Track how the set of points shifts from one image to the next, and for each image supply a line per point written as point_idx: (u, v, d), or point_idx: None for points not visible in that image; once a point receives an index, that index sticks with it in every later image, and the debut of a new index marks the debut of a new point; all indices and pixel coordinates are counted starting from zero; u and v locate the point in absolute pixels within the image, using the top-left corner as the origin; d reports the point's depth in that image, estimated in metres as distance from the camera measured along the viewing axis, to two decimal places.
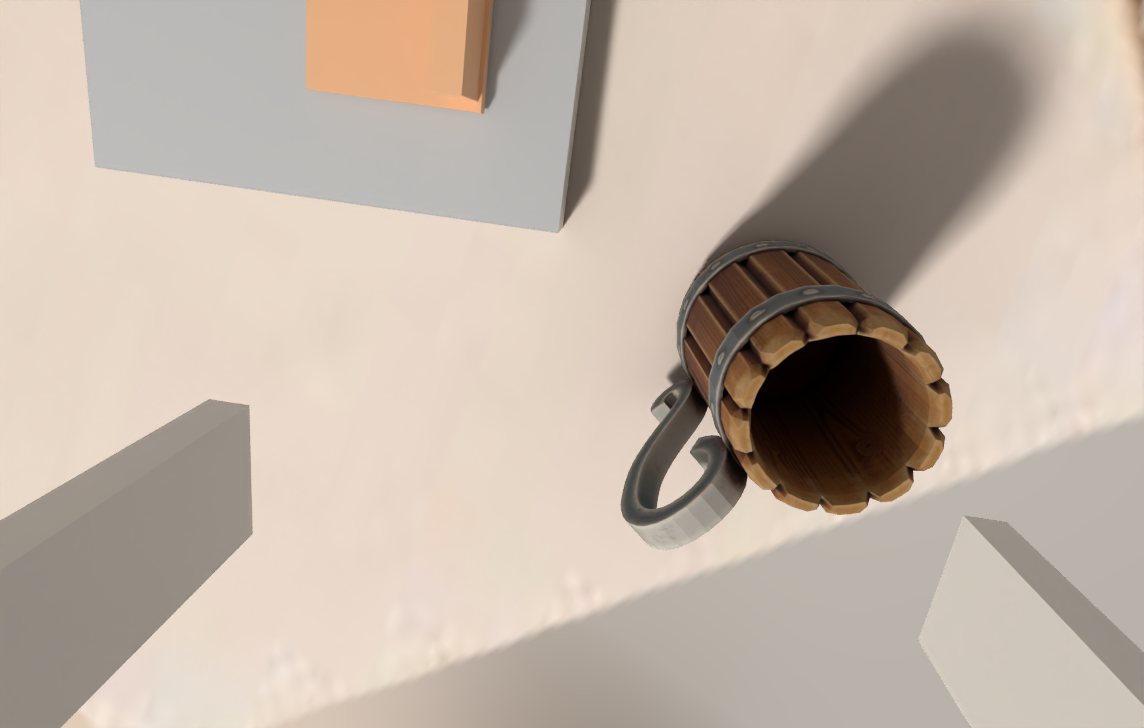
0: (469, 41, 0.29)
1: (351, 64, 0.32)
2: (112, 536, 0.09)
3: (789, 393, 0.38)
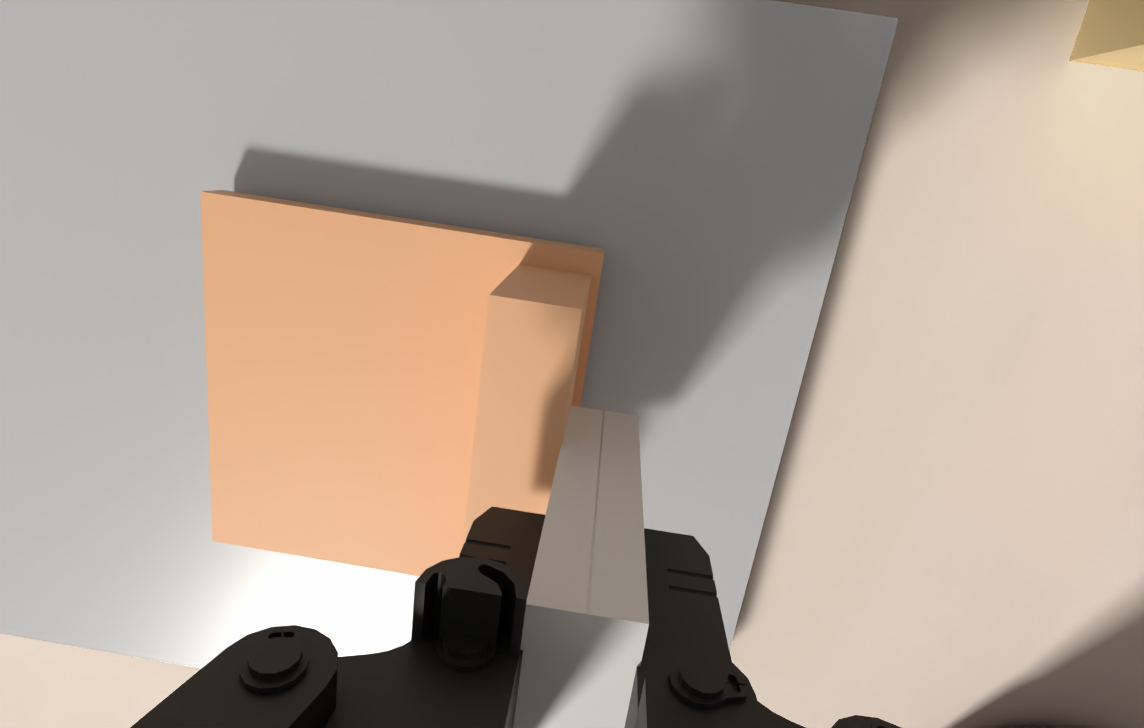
0: None
1: (299, 508, 0.17)
2: None
3: None
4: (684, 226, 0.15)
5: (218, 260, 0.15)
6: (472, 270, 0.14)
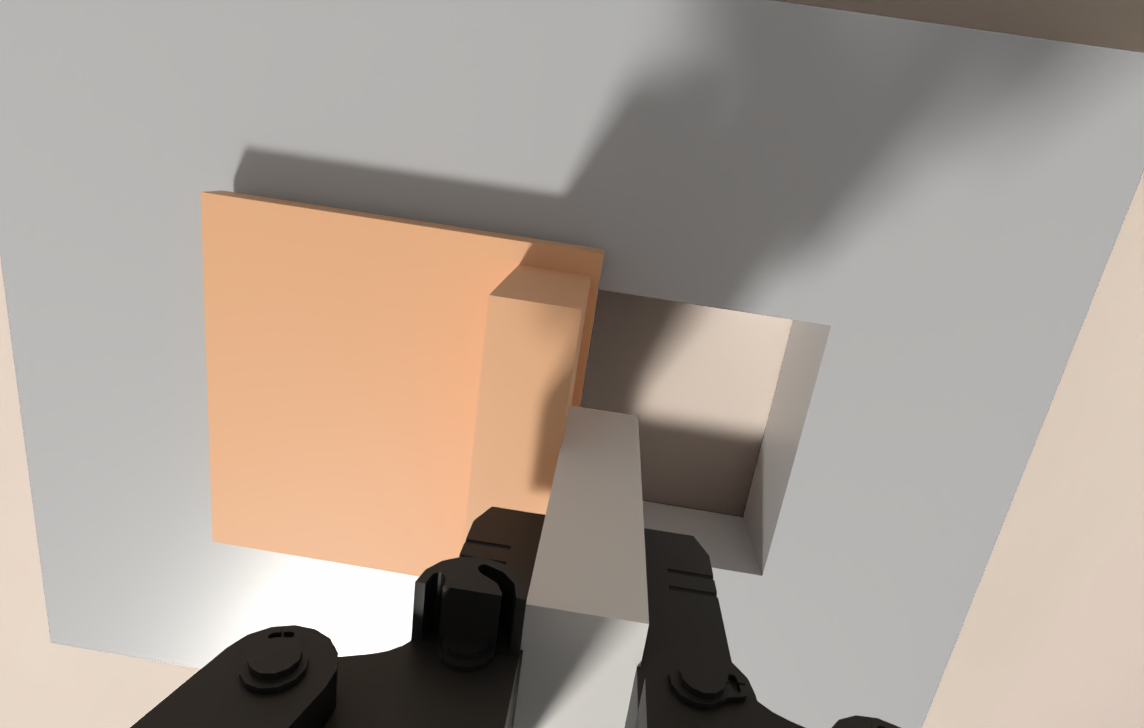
0: None
1: (299, 509, 0.17)
2: None
3: None
4: (939, 265, 0.15)
5: (218, 260, 0.15)
6: (472, 270, 0.14)
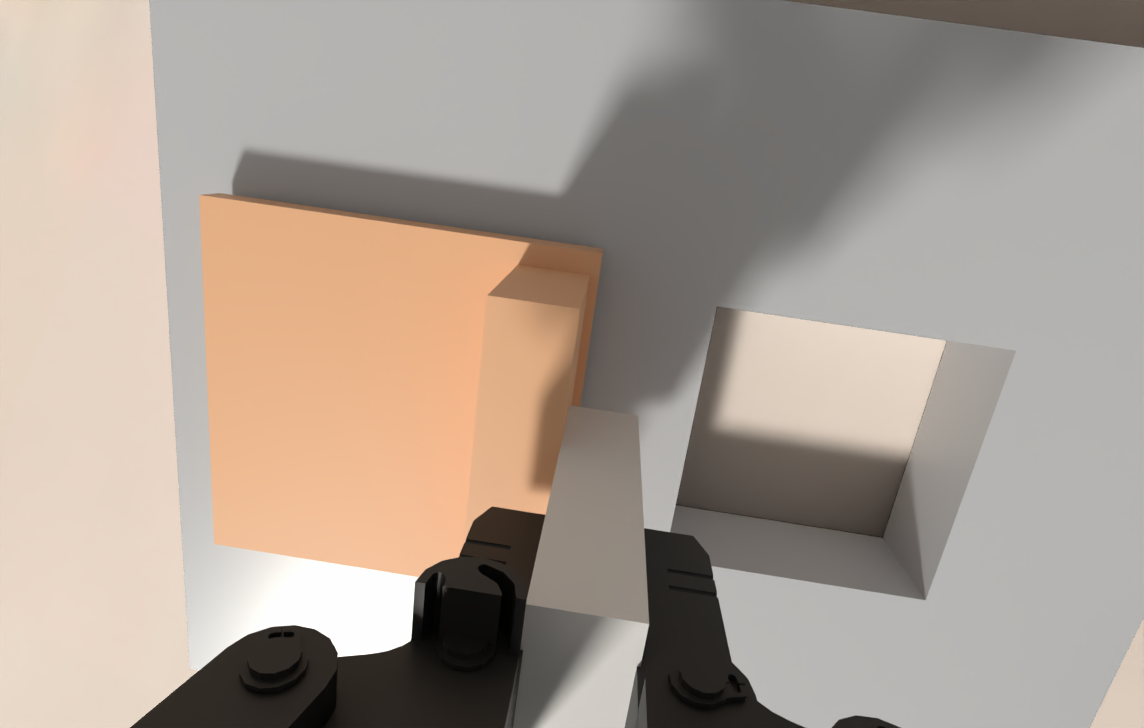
0: None
1: (300, 510, 0.17)
2: None
3: None
4: (1132, 290, 0.15)
5: (217, 263, 0.15)
6: (471, 271, 0.14)
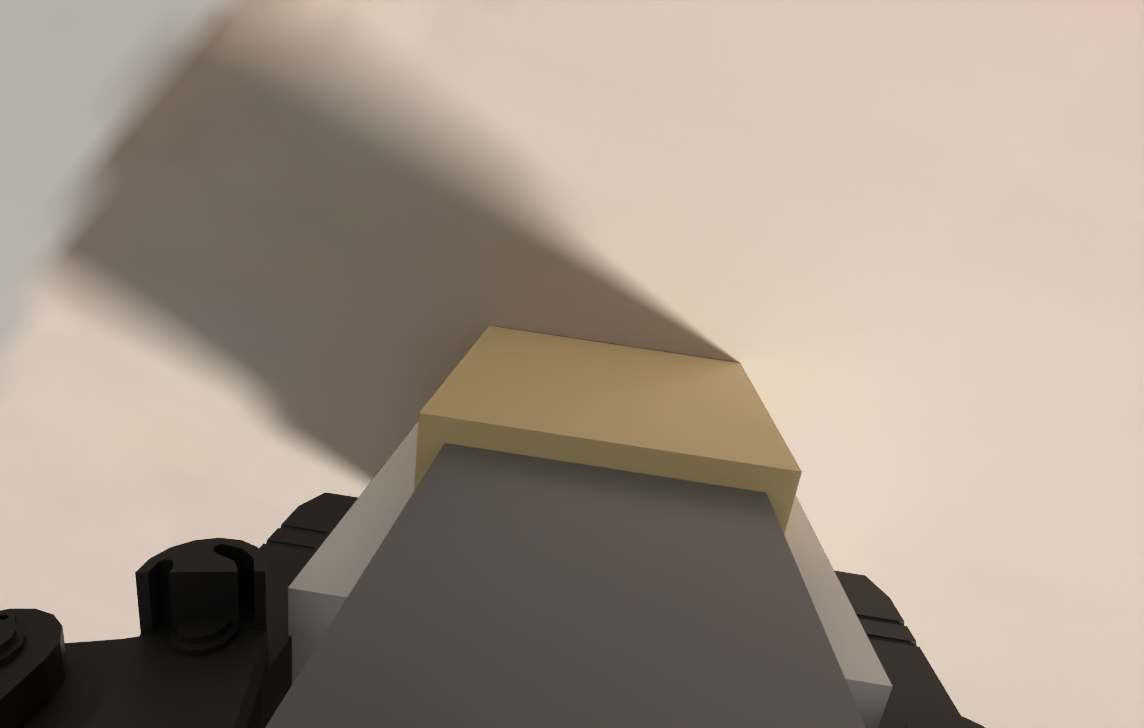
0: None
1: None
2: None
3: None
4: None
5: None
6: None
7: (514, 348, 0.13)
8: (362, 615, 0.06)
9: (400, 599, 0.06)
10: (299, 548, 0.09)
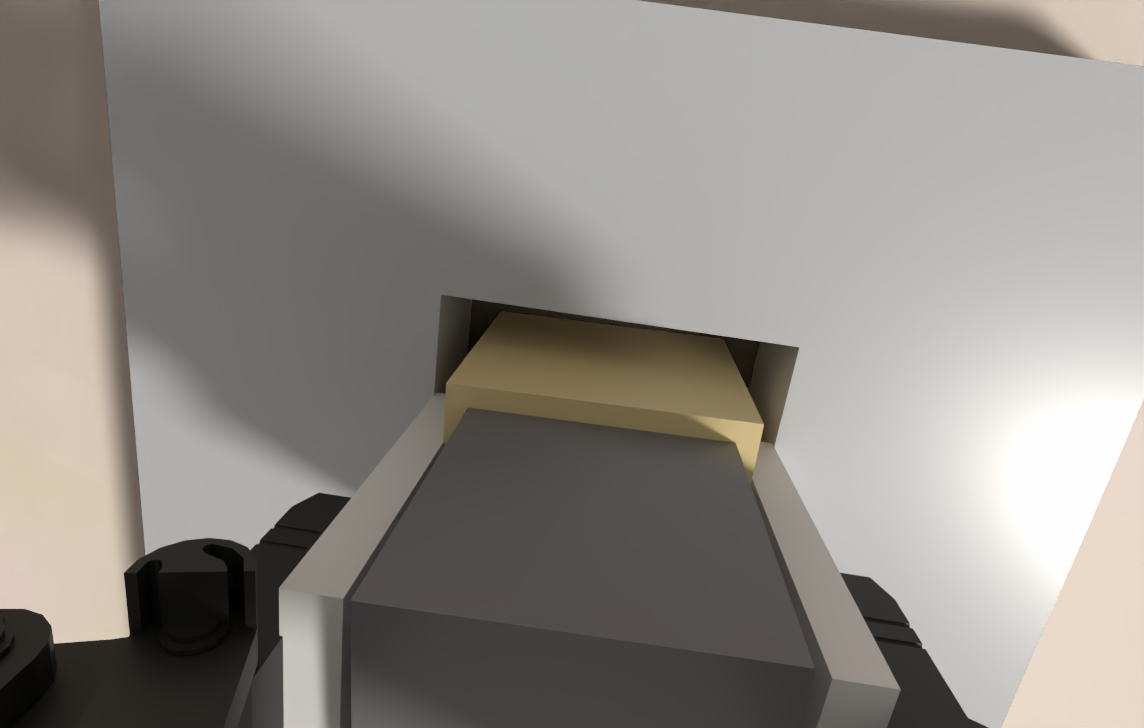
0: None
1: None
2: None
3: None
4: (357, 177, 0.12)
5: None
6: None
7: (523, 330, 0.15)
8: (414, 527, 0.08)
9: (441, 517, 0.08)
10: (292, 548, 0.09)
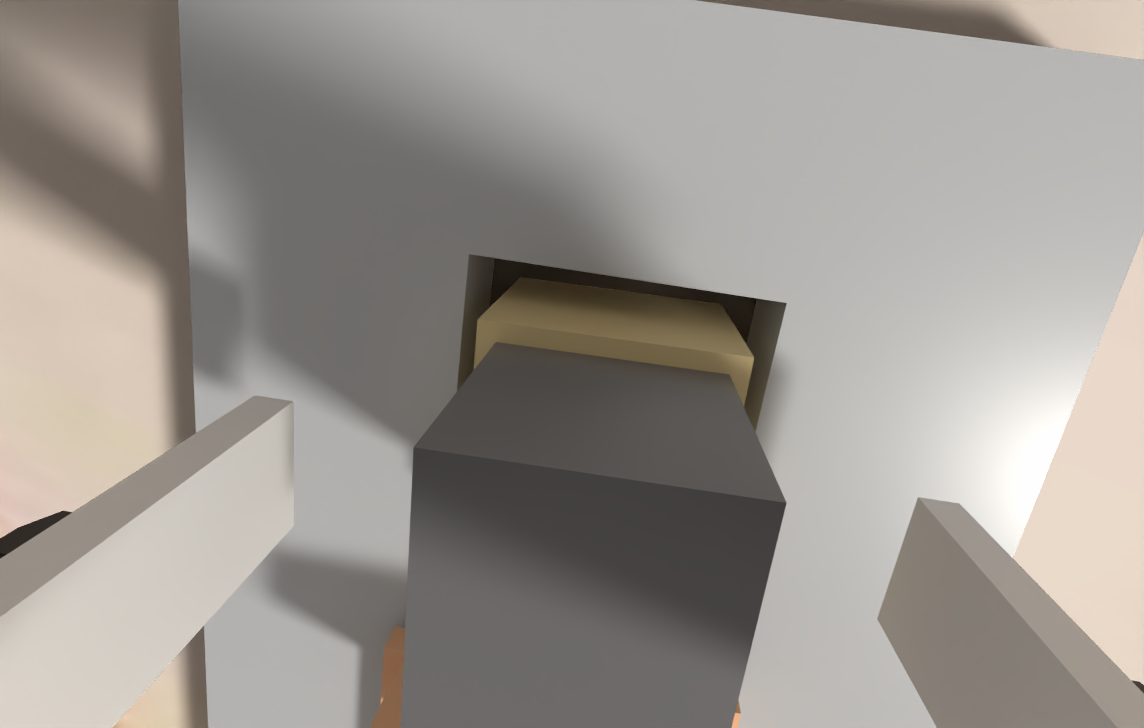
0: None
1: None
2: (179, 524, 0.09)
3: None
4: (397, 148, 0.14)
5: None
6: None
7: (541, 290, 0.16)
8: (459, 409, 0.09)
9: (480, 405, 0.10)
10: None
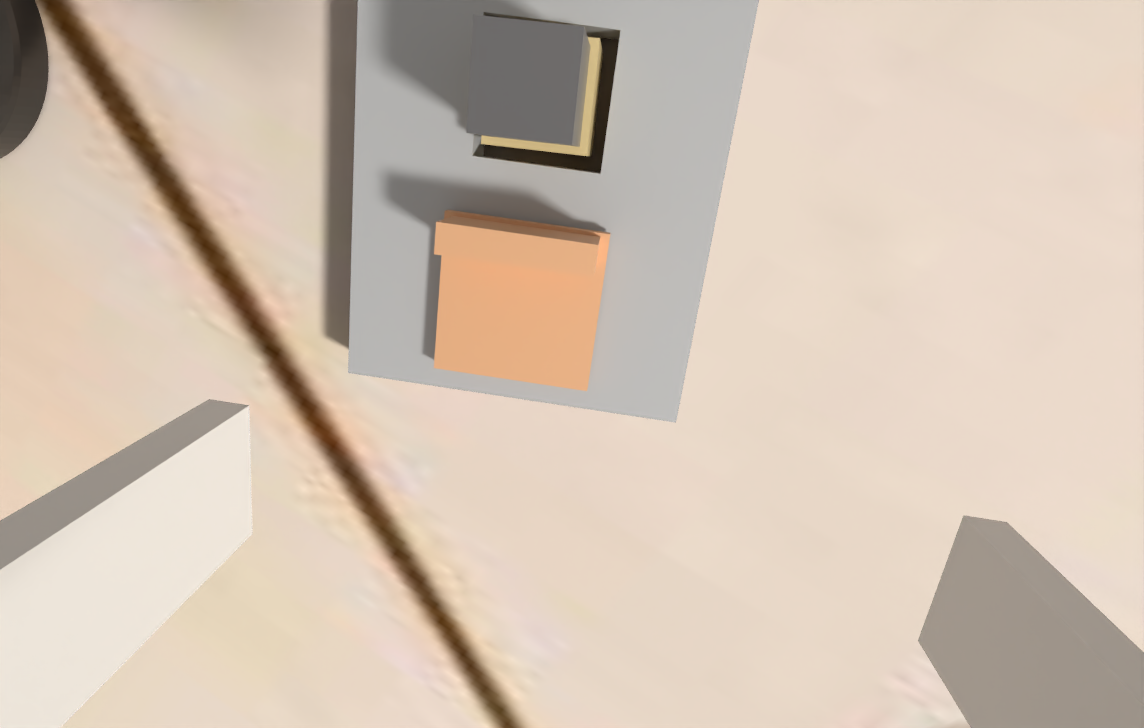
0: (552, 236, 0.32)
1: (567, 349, 0.37)
2: (113, 535, 0.09)
3: None
4: None
5: (459, 365, 0.38)
6: (455, 264, 0.36)
7: None
8: None
9: None
10: None
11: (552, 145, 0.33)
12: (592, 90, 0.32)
